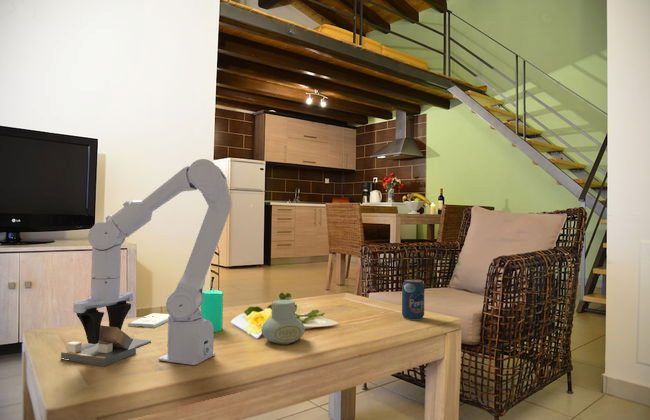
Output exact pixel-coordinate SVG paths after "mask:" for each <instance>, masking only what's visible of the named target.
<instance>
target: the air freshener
mask: <svg viewBox="0 0 650 420" xmlns="http://www.w3.org/2000/svg"><path fill="white" fill-rule="evenodd" d="M260 329H261V334H262V336H263V338H264V339H266V340H267V341H269V342H271V343H274V344H277V345H278V344H279V345H289V344H291V343H295V342H296V341H298V340H300V339H301V338H302V337H303V336H304V333H305V329H306V328H305V324H304V323H303V321H301V319H299V318H298V317H296V301H294V300H291V299H276V300H272V302H271V317H270V318H268V319H267V320H265V321H264V322H263V323H262V326H261V328H260Z"/></svg>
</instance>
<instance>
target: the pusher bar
mask: <svg viewBox="0 0 650 420" xmlns="http://www.w3.org/2000/svg"><path fill="white" fill-rule="evenodd" d="M132 341H133V339H132V337H130V336H129V335H128V334H127V333H125V332H124V331H123V330H122V329H121V330H120V329H119V328H118V327H110V326H109V325H108V326H107V325H100V332H99V341H98V343H102V342H109V343H113V348H119V349H126V350H128V348H129V347H130V345H131V343H132Z"/></svg>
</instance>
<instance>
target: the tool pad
mask: <svg viewBox="0 0 650 420" xmlns="http://www.w3.org/2000/svg"><path fill="white" fill-rule="evenodd" d="M131 338H132V337H131ZM132 339H133V341H132V343H131V345H130V346H133V347H136V349H137V348H140V347H142V346H145V345H147V344H150V343H151V341H152V340H149V339H142V338H141V339H140V338H134V337H133V338H132Z"/></svg>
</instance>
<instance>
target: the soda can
mask: <svg viewBox="0 0 650 420" xmlns="http://www.w3.org/2000/svg"><path fill="white" fill-rule="evenodd" d="M403 281H404V282H403V283H402V286H401V289H402V290H401V315H402V316H403V318H404V320H408V321H421V320H422V319H423V318H424V317H425V284H424V281H423V279H418V278H406V279H404V280H403Z"/></svg>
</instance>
